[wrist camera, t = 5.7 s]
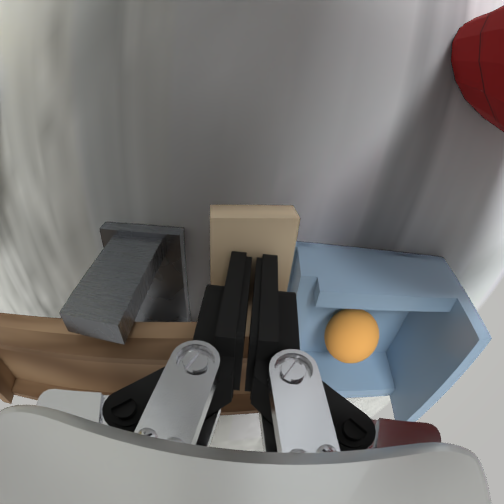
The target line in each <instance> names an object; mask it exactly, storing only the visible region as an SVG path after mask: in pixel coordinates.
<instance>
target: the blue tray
mask: <svg viewBox="0 0 504 504" xmlns="http://www.w3.org/2000/svg"><path fill="white" fill-rule="evenodd" d="M287 292H295V293H296V299H297V312H298V326H299V341H300V350H301V351H304V352H306V353H307V354H309V355H310V356H311V357H312V358H313V359H314V360H315V361H316V364H317V366H318V369H319V372H320V376H321V380H322V381H323V382H325V383H326V384H327V385H329V386H330V387H331V388H332V389H334V390H335V391H336V392H337V393H339V394H340V395H341V396H343V397H344V398H353V397H374V396H388V395H390V399H391V403H392V408H393V413H394V418H395V420H400V421H410V422H416V421H417V420H418V419H419V418H420V417H421V416H422V415H423V414H424V413H425V412H427V410H429V409H430V408H431V407H432V406H433V405H434V404H435V403H436V402H437V401H438V400H439V399H440V398H441V397H442V396H443V395H444V394H445V393H446V392H447V391H448V390H449V389H450V388H451V387H452V385H453V384H454V383H455V382H456V381H457V380H458V379H459V378H460V377H461V376H462V375H463V373H464V372H465V371H466V370H467V369H468V368H469V366H470V365H471V364H472V363H473V362H474V361H475V359H476V358H477V357H478V356H479V354H480V353H481V352H482V351H483V349H484V348H485V347H486V346H487V344H488V343H489V342H490V340H491V339H492V338H491V336H490V334H489V332H488V330H487V328H486V326H485V325H484V323H483V321H482V319H481V317H480V316H479V314H478V312H477V310H476V309H475V307H474V305H473V303H472V302H471V300H470V298H469V297H468V295H467V293H466V292H465V290H464V289H463V287H462V285H461V284H460V282H459V281H458V279H457V277H456V276H455V274H454V273H453V271H452V270H451V268H450V267H449V265H448V264H447V262H446V261H445V259H444V258H443V257H439V256H430V255H421V254H413V253H404V252H395V251H386V250H377V249H367V248H358V247H348V246H339V245H329V244H319V243H309V242H299V241H296V246H295V251H294V257H293V262H292V267H291V273H290V278H289V283H288V288H287ZM344 309H362V310H365V311H366V312H368V313H369V314H371V315H372V316H373V318H374V319H375V321H376V322H377V325H378V328H379V341H378V344H377V347H376V349H375V350H374V352H373V353H372V354H371V355H370V356H369V357H368V358H366V359H365V360H363V361H360V362H357V363H344V362H341V361H339V360H337V359H335V358H334V357H333V356H332V355H331V354H330V353H329V351H328V350H327V348H326V345H325V340H324V333H325V329H326V326H327V324H328V322H329V320H330V319H331V318H332V317H333V316H334V315H335V314H336V313H338V312H339V311H341V310H344Z"/></svg>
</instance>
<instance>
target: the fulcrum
mask: <svg viewBox="0 0 504 504" xmlns="http://www.w3.org/2000/svg"><path fill="white" fill-rule="evenodd" d="M100 233H101V238H102V243H103V247H104V249H103V250H102V252H101V253H100V254H99V256H98V257H97V259H96V260H95V261H94V263H93V264H92V265H91V267H90V268H89V270H88V271H87V272H86V274H85V275H84V277H83V278H82V280H81V281H80V282H79V284H78V285H77V287H76V288H75V290H74V291H73V293H72V294H71V296H70V297H69V299H68V300H67V302H66V303H65V305H64V306H63V308H62V310H61V311H60V315H61V317H62V320H63V322H64V324H65V326H66V328H67V330H68V331H69V332H73V333H76V334H80V335H84V336H88V337H93V338H97V339H101V340H106V341H110V342H115V343H119V344H124V345H125V342H126V340H127V338H128V335H129V333H130V331H131V328H132V326H133V324H134V322H191V319H190V309H189V299H188V287H187V275H186V261H185V246H184V228H179V227H166V226H154V225H141V224H127V223H113V222H105V223H104V224H103V225H102V226H101V228H100Z"/></svg>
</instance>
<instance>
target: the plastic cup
mask: <svg viewBox="0 0 504 504" xmlns="http://www.w3.org/2000/svg"><path fill="white" fill-rule="evenodd" d="M451 62H452V67H453V71H454V76H455V81H456V83H457V85H458V87H459V89H460V90H461V92H462V94H463V97H464V99H465V100H466V101H467V102H468V103H469V104H470V105H471V106H472V107H473V108H474V109H475V110H476V111H477V112H478V113H479V114H480V115H481V116H482V117H483V118H484V119H486V120H487V121H489V122H490V123H492V124H493V125H495V126H496V127H497V128H499V129H500V130H501V131H503V132H504V6H502V7H500V8H498V9H496V10H494V11H492V12H490V13H487V14H484V15H482V16H479V17H476V18H474V19H473V20H471V21H469V22H467V23H465V24H464V25H463V26H462V27H460V28H459V30H458V32H457V34H456V36H455V38H454V40H453V42H452V55H451Z"/></svg>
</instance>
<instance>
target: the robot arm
mask: <svg viewBox="0 0 504 504" xmlns="http://www.w3.org/2000/svg"><path fill="white" fill-rule="evenodd" d="M246 255H247V252H236V251H232V252H231V257H230V262H229V267H228V272H227V277H226V282H225V286H219V285H209V284H208V285H207V287H206V290H205V294H204V298H203V301H202V305H201V309H200V313H199V317H198V321H197V324H196V328H195V332H194V336H193V340H192V341H187V342H184V343H182V344H180V345H179V346H177V347H176V348H175V350H174V351H173V352H172V354H171V356H170V358H169V360H168V362H167V364H166V366H165V367H163V368H161V369H159V370H157V371H155V372H153V373H151V374H149V375H147V376H145V377H143V378H141V379H140V380H138V381H136V382H134V383H132V384H130V385H128V386H126V387H124V388H122V389H120V390H118V391H116V392H114V393H112V394H111V395H103V394H102V393H100V392H84V391H71V390H61V389H48V390H46V391H44V392H43V393H42V394H41V395H40V396H39V398H38V401H37V405H16V406H11V407H7V408H5V409H3V410H1V411H0V504H491V498H490V492H489V487H488V483H487V479H486V476H485V473H484V469H483V467H482V464H481V462H480V460H479V459H478V457H477V456H476V455H475V454H474V453H473V452H471V451H470V450H469V449H466V448H464V447H461V446H458V445H454V444H448V443H441V436H440V433H439V431H438V429H437V428H436V427H435V426H433V425H432V424H429V423H421V422H410V421H400V420H391V419H383V418H379V419H378V420H372V419H370V418H369V417H368V416H367V415H366V414H365V413H364V412H362V411H361V410H360V409H358V408H357V407H356V406H354V405H353V404H352V403H350V402H349V401H348V400H346V399H345V398H344V397H343V396H341V395H340V394H339V393H337V392H336V391H335V390H334V389H332V388H331V387H330V386H329V385H327V384H326V383H325V382H323V381H322V380H321V376H320V372H319V369H318V366H317V364H316V361H315V360H314V359H313V358H312V357H311V356H310V355H309V354H307V353H306V352H304V351H301V350H300V341H299V326H298V312H297V299H296V293H295V292H285V291H278V255H269V254H263V256H262V258H259V257H257V259H256V269H255V279H254V290H253V300H252V310H251V321H250V333H249V345H248V356H247V368H246V379H245V391H249V392H250V400H251V403H250V404H251V405H253V406H254V407H255V408H256V409H257V410H258V411H259V419H260V428H261V436H262V444H263V451H264V452H256V451H243V450H232V449H222V448H214V447H210V444H211V441H212V438H213V434H214V431H215V428H216V425H217V422H218V419H219V416H220V413H221V408H223V407H224V406H226V405H227V404H229V403H230V402H231V401H232V398H233V391H234V390H238V391H240V382H241V372H242V362H243V352H244V341H245V331H246V321H247V311H248V299H249V287H250V276H251V264H252V257H247V256H246Z"/></svg>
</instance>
